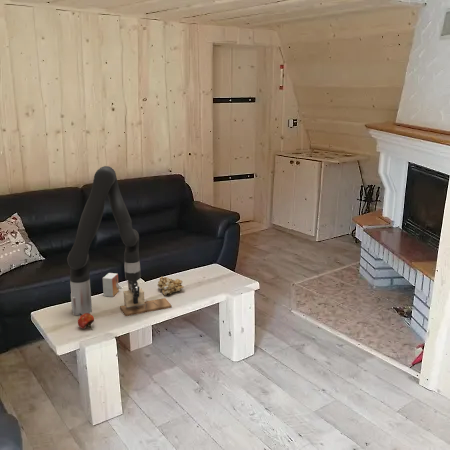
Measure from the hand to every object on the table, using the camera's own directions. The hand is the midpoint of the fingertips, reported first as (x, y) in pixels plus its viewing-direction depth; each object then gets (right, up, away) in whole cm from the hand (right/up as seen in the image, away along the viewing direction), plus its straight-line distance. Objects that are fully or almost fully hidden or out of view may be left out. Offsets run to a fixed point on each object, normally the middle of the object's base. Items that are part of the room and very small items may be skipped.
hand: (134, 301), depth 243 cm
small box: (-16, +1, +21) cm, 26 cm away
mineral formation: (+15, +2, +25) cm, 29 cm away
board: (+5, -4, +4) cm, 8 cm away
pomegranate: (-19, -10, -17) cm, 27 cm away
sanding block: (0, -2, 0) cm, 2 cm away
